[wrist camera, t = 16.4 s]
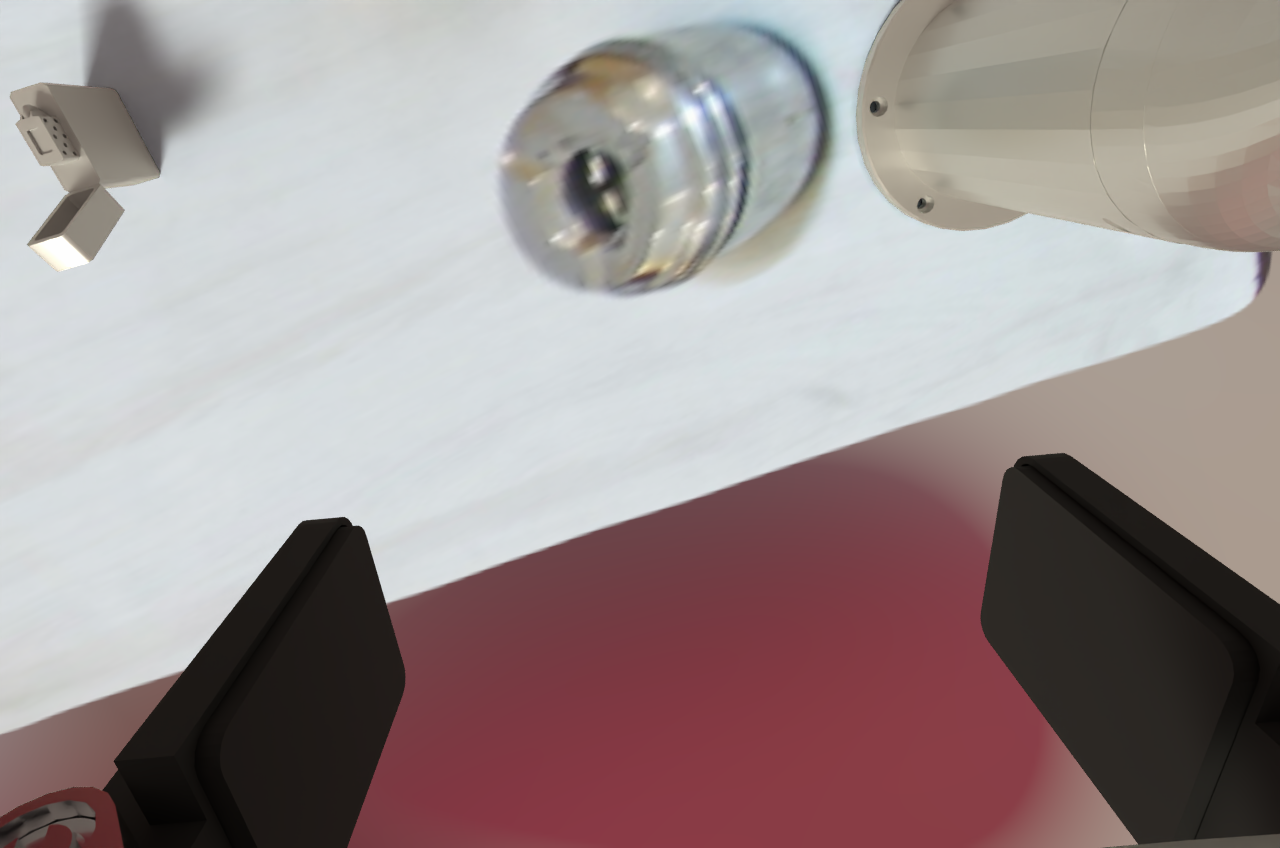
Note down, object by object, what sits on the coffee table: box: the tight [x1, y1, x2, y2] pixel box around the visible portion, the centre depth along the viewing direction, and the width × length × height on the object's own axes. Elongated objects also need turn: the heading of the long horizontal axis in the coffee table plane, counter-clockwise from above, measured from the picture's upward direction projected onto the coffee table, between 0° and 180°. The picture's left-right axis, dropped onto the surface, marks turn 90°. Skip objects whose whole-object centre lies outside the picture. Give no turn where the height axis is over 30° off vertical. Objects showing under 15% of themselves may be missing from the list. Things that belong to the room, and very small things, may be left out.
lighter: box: [10, 83, 160, 272], centre depth 29 cm, size 7×2×8 cm, turn 15°
